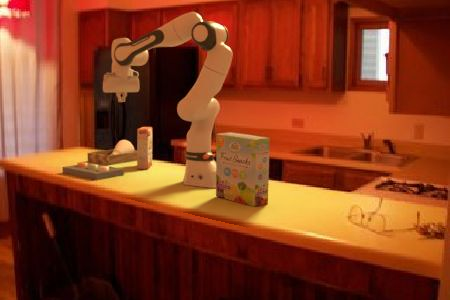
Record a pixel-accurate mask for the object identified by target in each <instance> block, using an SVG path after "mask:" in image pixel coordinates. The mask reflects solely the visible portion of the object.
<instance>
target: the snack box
mask: <svg viewBox="0 0 450 300" xmlns="http://www.w3.org/2000/svg"><path fill="white" fill-rule="evenodd" d="M215 139H216V142H215V143H216V144H215V149H216V150H215V151H216V153H215V159H216V160H215V162H216V188H215V196H216V197H217V198H218V197H219V198H221V199H225V200H228V201H231V202H236V203H239V204H242V205H246V206H250V207H253V208H255V207H260V206H263V205H268V204H269V182H270V181H269V179H270V177H269V175H270V171H269V170H270V143H271V142H270V141H271V138H270V137H266V136H259V135H251V134H246V133H239V132H238V133H237V132H230V131H229V132H221V133H220V132H219V133H216V136H215Z"/></svg>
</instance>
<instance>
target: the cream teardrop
mask: <svg viewBox="0 0 450 300" xmlns="http://www.w3.org/2000/svg"><path fill="white" fill-rule="evenodd" d="M134 150H135V147H134V145H133V144H132V142H131V141H129V140H127V139H121V140H119V141H118V142H117V143H116V145H115V146H114V151H113V153H112V154H111V155H117V154H124V153H131V152H134ZM109 156H110V155H109Z"/></svg>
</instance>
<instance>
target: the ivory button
mask: <svg viewBox="0 0 450 300" xmlns="http://www.w3.org/2000/svg"><path fill="white" fill-rule="evenodd" d="M109 167H110V165H104V166H100V167H98V171H102V172H104V171H109Z"/></svg>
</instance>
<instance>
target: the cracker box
mask: <svg viewBox="0 0 450 300" xmlns="http://www.w3.org/2000/svg"><path fill="white" fill-rule="evenodd" d="M136 130H137V136H136V138H137V139H136V140H137V141H136V142H137V146H136V147H137V148H136V150H137V162H136V163H137V164H136V167H137V168H136V169H137V170H149V168H150V167H151V166H153V127H152V126H142V127H140V128H139V127H138V128H137V129H136Z"/></svg>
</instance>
